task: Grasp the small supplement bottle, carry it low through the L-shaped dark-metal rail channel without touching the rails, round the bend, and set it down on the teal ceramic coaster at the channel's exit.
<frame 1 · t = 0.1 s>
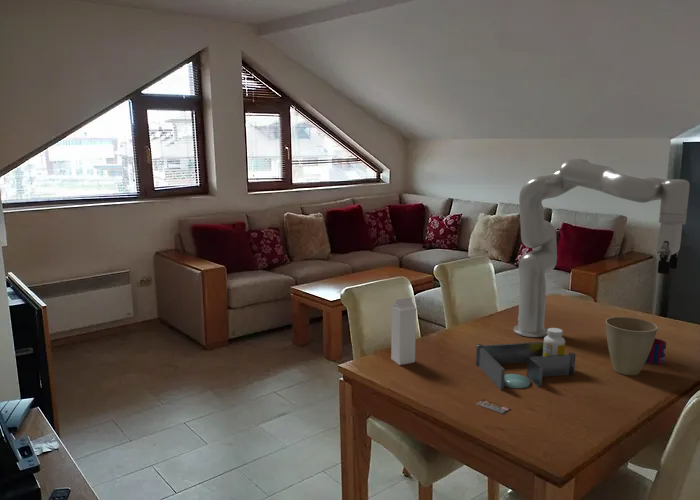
hand: (667, 270, 189), 31 cm above the table, tool pointing down, fingers open, 9 cm apart
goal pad: (515, 382, 180), on the table
mug: (647, 359, 197), on the table
supplement bottle: (552, 368, 191), on the table
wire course: (503, 370, 188), on the table
plant pot: (626, 371, 188), on the table
milk: (403, 361, 197), on the table
chocolate bar: (492, 408, 164), on the table
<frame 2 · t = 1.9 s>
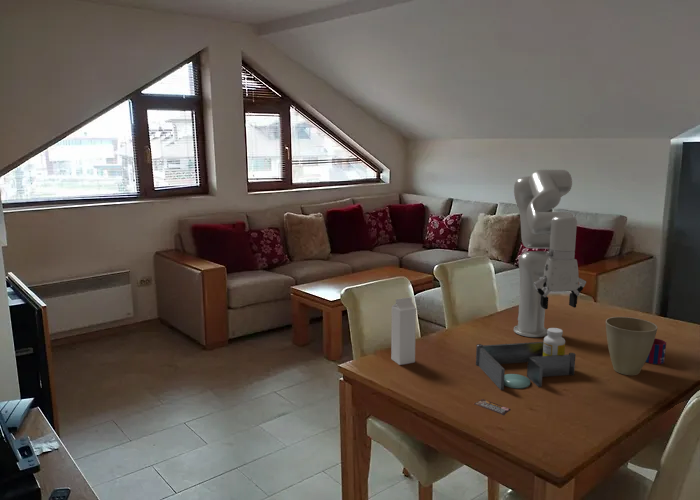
hand: (558, 307, 187), 21 cm above the table, tool pointing down, fingers open, 9 cm apart
nothing on the table moved.
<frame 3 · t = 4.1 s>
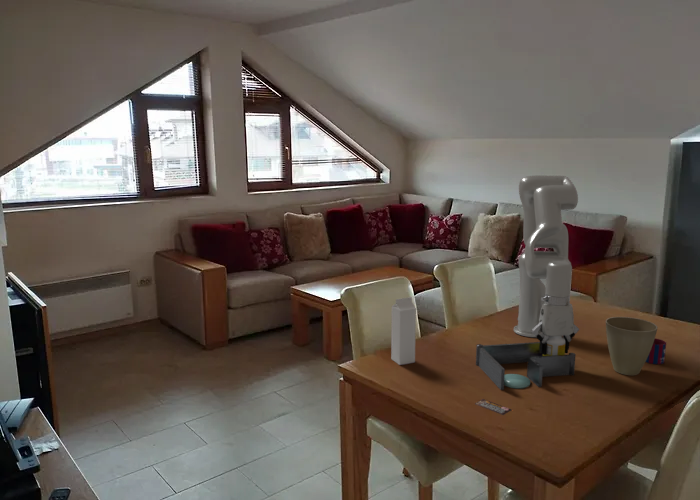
hand: (553, 352, 190), 5 cm above the table, tool pointing down, fingers closed on supplement bottle, 6 cm apart
supplement bottle: (552, 367, 191), on the table, touching gripper
everything else where it was.
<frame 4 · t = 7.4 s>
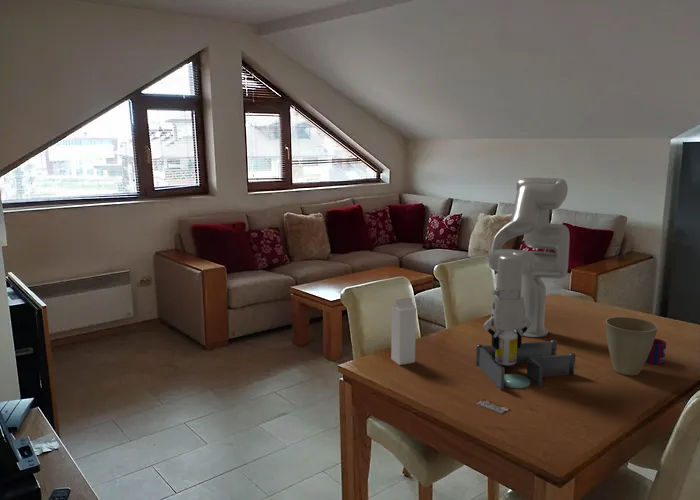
hand: (506, 346, 187), 8 cm above the table, tool pointing down, fingers closed on supplement bottle, 6 cm apart
supplement bottle: (505, 362, 188), point 3 cm above the table, touching gripper
everything else where it was.
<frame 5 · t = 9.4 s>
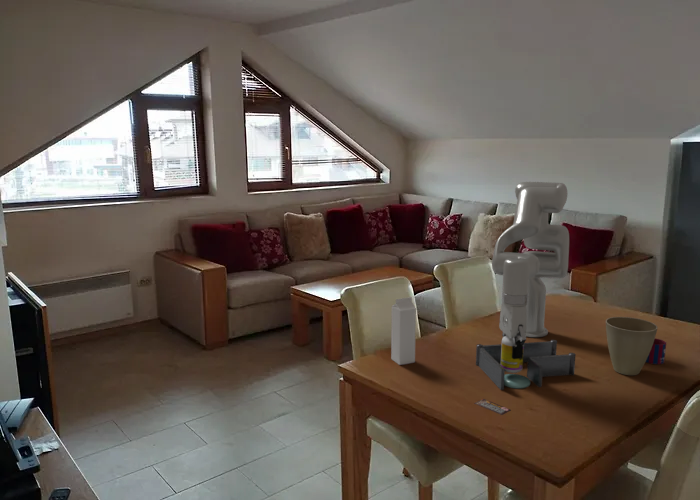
hand: (512, 353, 181), 8 cm above the table, tool pointing down, fingers closed on supplement bottle, 6 cm apart
supplement bottle: (511, 369, 182), point 3 cm above the table, touching gripper
everything else where it was.
when the fingers open (7 cm above the table, at t = 10.9 s): supplement bottle drops 1 cm, resting on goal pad.
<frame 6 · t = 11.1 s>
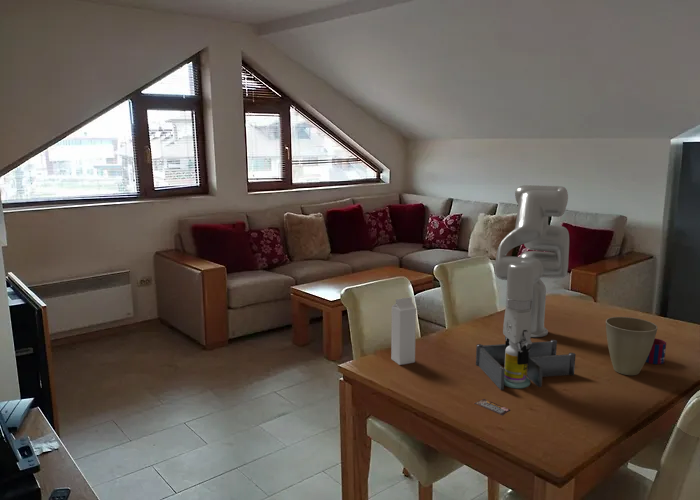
hand: (516, 358, 178), 8 cm above the table, tool pointing down, fingers open, 8 cm apart
supplement bottle: (515, 379, 180), point 1 cm above the table, touching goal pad
everything else where it was.
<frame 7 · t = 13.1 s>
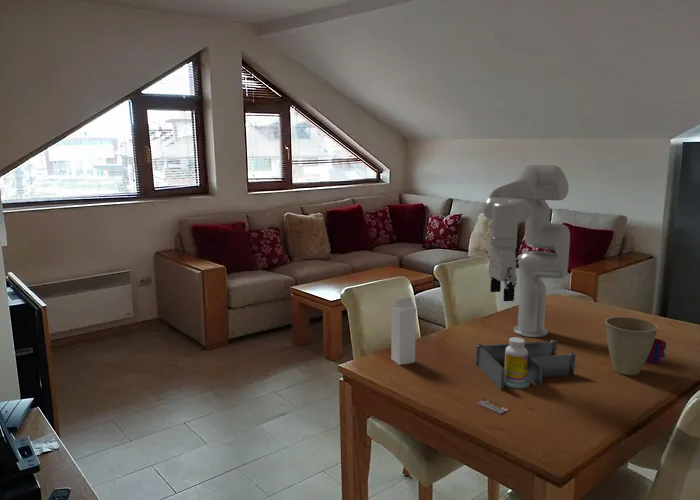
hand: (501, 296, 181), 26 cm above the table, tool pointing down, fingers open, 9 cm apart
nothing on the table moved.
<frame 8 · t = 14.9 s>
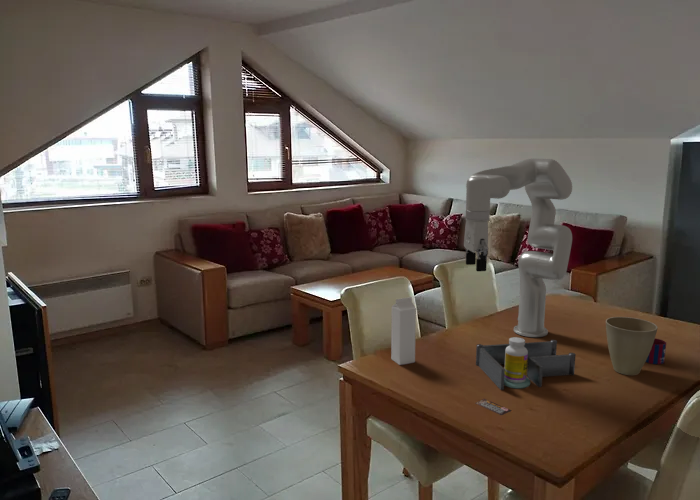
hand: (475, 267, 190), 32 cm above the table, tool pointing down, fingers open, 9 cm apart
nothing on the table moved.
at the end: supplement bottle 0.3 cm off-centre on the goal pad, point 0.6 cm above the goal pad's base; supplement bottle tilted 0°; supplement bottle touching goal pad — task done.
